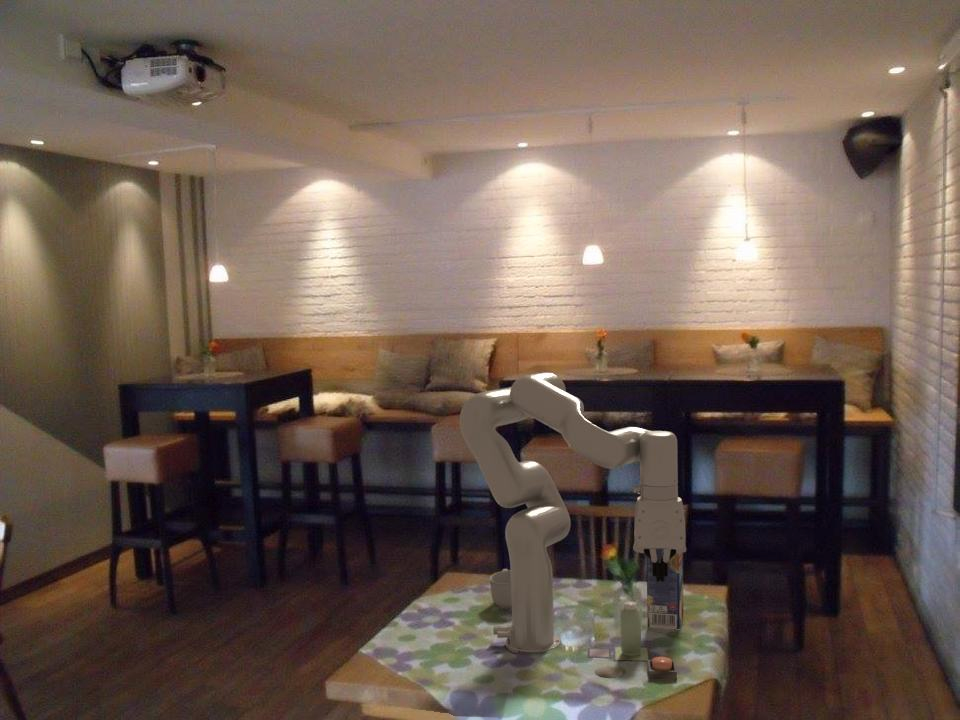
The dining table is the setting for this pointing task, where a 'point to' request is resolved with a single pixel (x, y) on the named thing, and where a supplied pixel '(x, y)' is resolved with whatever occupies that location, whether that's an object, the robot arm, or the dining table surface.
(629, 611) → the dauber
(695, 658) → the dining table surface
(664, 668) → the button
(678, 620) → the juice carton
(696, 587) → the dining table surface
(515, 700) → the dining table surface
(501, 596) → the teacup
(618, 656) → the colouring board
